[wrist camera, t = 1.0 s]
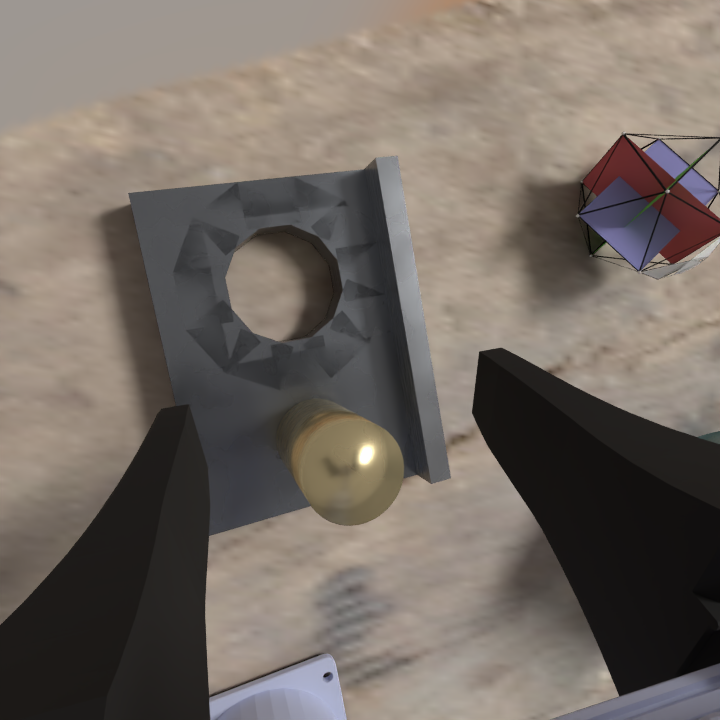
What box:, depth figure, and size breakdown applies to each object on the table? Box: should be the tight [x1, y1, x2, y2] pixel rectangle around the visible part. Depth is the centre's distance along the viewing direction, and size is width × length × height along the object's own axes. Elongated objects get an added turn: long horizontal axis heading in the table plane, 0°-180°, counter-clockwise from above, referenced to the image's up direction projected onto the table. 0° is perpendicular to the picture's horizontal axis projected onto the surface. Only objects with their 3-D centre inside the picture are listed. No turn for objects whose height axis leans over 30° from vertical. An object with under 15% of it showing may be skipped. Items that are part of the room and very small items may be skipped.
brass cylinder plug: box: [276, 398, 404, 526], centre depth 20 cm, size 4×4×6 cm
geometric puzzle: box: [576, 132, 720, 279], centre depth 26 cm, size 7×7×8 cm
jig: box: [128, 156, 451, 536], centre depth 22 cm, size 14×11×3 cm
